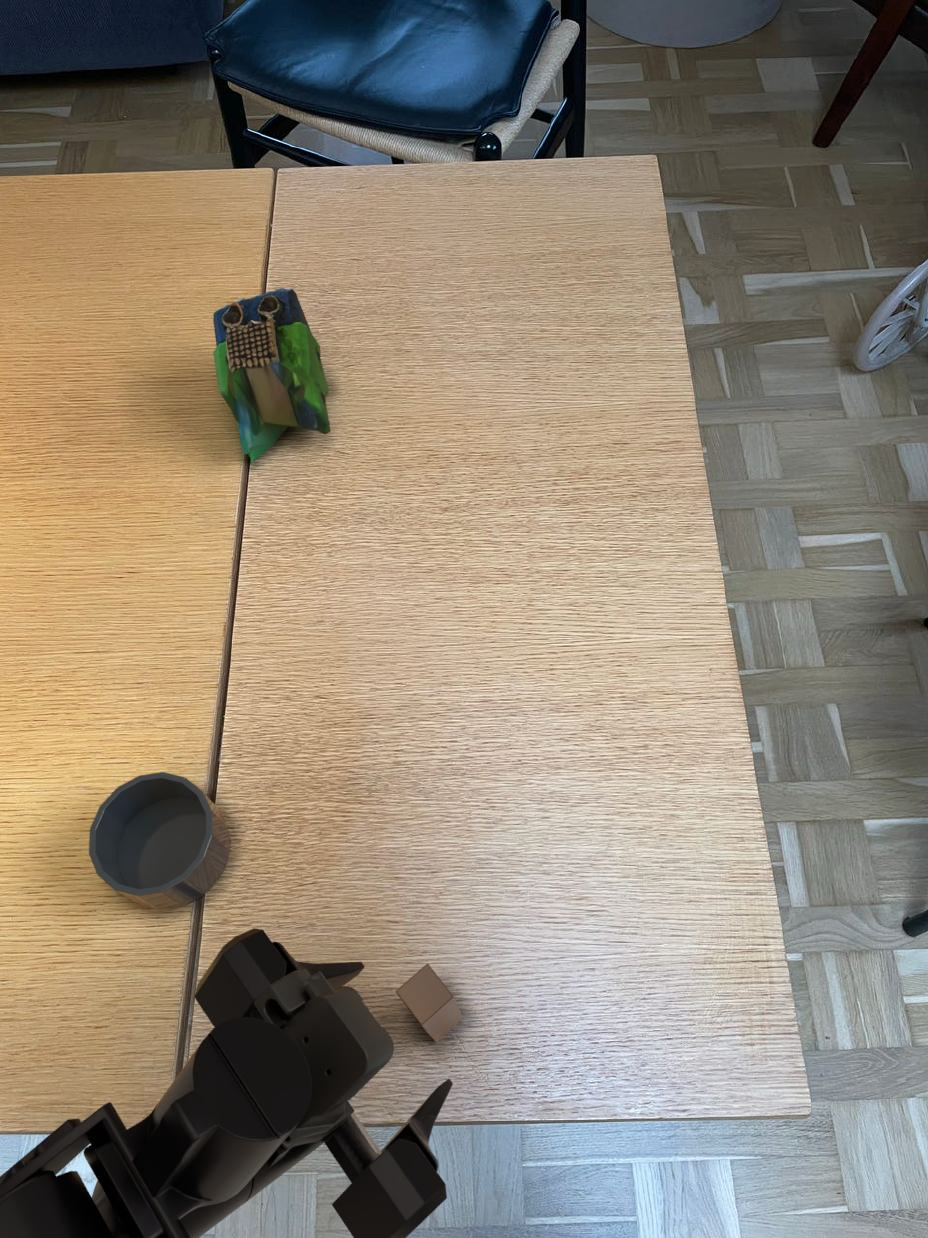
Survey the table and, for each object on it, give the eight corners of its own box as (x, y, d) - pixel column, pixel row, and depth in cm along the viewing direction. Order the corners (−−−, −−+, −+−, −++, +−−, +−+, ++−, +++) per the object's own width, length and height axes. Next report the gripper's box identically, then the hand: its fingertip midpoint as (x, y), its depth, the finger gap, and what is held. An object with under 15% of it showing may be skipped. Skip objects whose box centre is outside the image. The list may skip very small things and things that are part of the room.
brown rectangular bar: (436, 1043, 72) (421, 1026, 60) (414, 1014, 73) (395, 991, 61) (463, 1018, 73) (453, 996, 61) (441, 990, 74) (427, 963, 62)
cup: (173, 934, 76) (149, 921, 72) (91, 862, 79) (63, 845, 75) (254, 837, 80) (237, 819, 75) (172, 772, 83) (151, 750, 78)
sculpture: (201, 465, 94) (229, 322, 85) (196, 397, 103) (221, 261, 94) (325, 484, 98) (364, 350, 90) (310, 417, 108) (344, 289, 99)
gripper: (400, 1244, 44) (569, 1080, 57) (179, 919, 51) (373, 837, 64) (293, 1346, 49) (471, 1174, 62) (105, 1037, 56) (299, 939, 69)
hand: (403, 1024), depth 64 cm, fingers open, 9 cm apart
